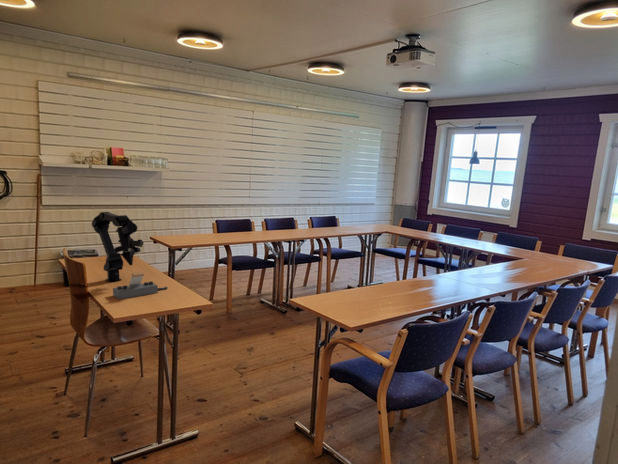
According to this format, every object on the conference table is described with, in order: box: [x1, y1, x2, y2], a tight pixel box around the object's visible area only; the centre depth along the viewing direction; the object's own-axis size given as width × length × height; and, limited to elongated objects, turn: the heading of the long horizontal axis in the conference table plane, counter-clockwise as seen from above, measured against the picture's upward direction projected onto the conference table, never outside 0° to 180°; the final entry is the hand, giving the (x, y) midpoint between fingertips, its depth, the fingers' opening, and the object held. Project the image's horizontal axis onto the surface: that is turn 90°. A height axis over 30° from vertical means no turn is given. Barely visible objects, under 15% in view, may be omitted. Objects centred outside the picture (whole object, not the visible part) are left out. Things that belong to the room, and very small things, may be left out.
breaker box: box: [112, 281, 168, 300], centre depth 226 cm, size 8×27×5 cm, turn 133°
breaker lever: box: [128, 270, 145, 287], centre depth 222 cm, size 2×5×9 cm
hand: (131, 265), depth 233 cm, fingers closed
